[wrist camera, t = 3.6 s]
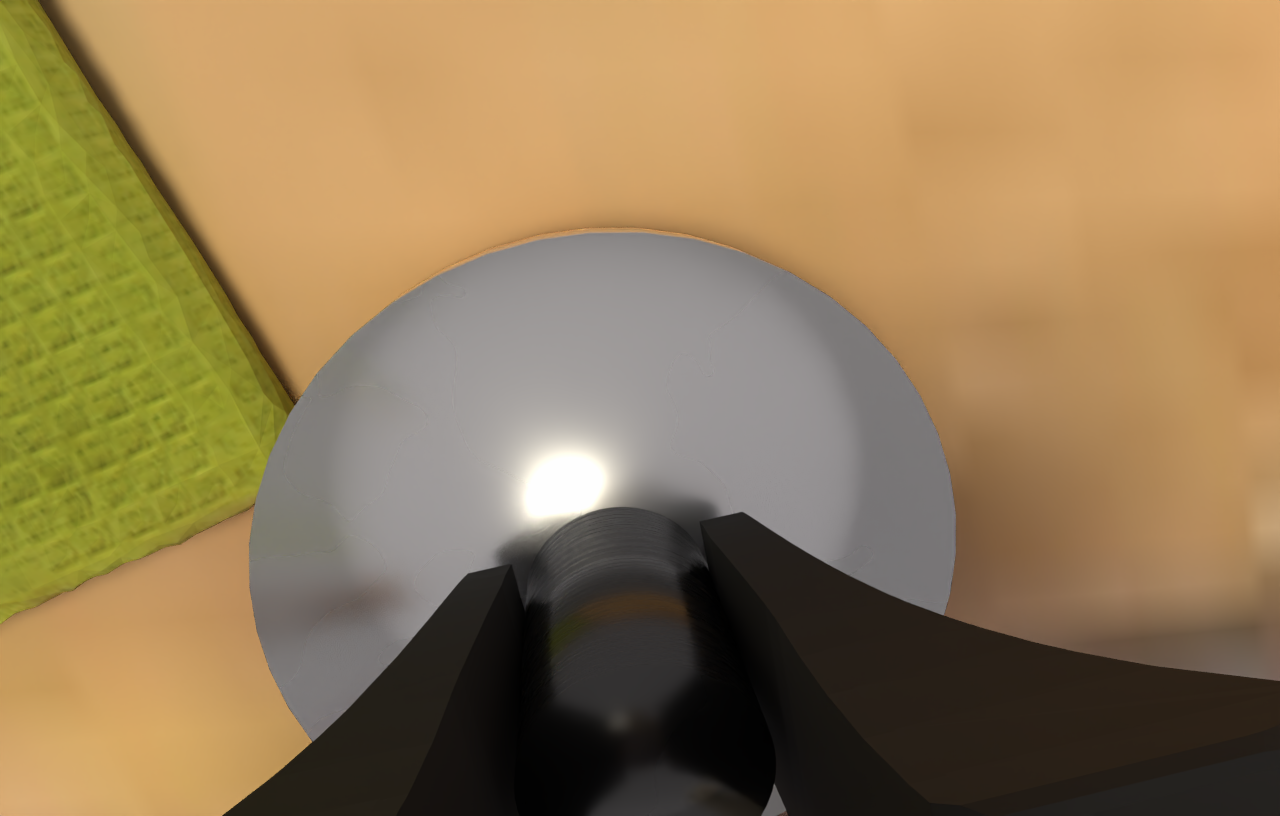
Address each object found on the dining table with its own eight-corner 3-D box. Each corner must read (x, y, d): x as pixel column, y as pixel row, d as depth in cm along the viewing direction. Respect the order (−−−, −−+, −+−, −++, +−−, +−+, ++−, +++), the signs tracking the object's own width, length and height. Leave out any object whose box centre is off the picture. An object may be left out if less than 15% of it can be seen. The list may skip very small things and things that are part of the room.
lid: (395, 844, 14) (308, 1215, 9) (187, 303, 11) (-120, 419, 6) (930, 716, 14) (1126, 1006, 9) (879, 159, 11) (1134, 156, 6)
